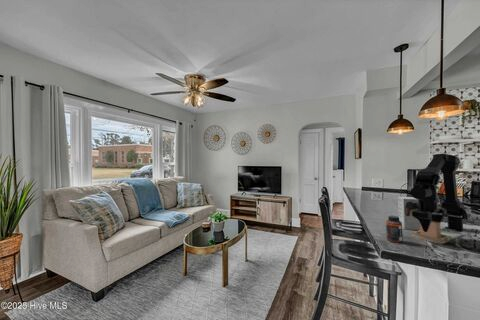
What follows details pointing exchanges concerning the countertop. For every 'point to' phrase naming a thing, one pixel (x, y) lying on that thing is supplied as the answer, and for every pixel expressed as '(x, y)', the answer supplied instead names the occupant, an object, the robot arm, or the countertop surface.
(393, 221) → the supplement bottle
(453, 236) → the pad
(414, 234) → the wooden frame
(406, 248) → the countertop surface
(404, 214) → the supplement box
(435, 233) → the part block
